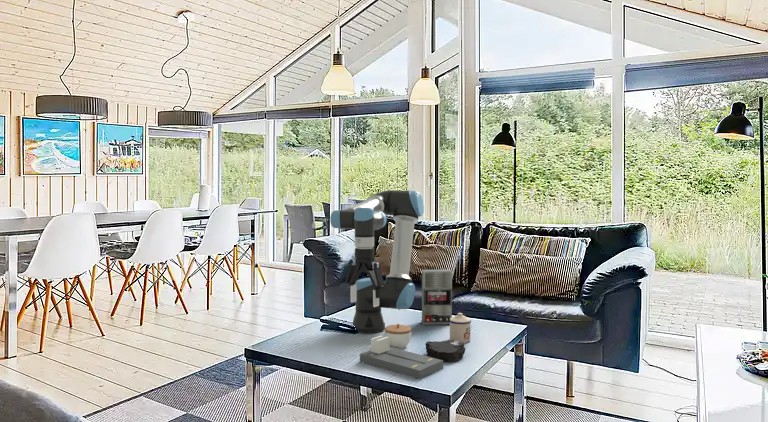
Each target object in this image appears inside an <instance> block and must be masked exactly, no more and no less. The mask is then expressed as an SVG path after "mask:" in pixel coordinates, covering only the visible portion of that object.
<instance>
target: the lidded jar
mask: <svg viewBox="0 0 768 422" xmlns="http://www.w3.org/2000/svg"><path fill="white" fill-rule="evenodd" d="M384 332H385V333H384V336H386V337H389V347H392V348H396V349H400V350H403V349H406V347H407V346H408V344H409V343H410V342H411V338H412V327H411V326H409V325H405V324H400V323H397V324H391V325H387V326H385V330H384Z"/></svg>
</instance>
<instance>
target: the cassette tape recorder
mask: <svg viewBox="0 0 768 422" xmlns="http://www.w3.org/2000/svg"><path fill="white" fill-rule="evenodd" d="M452 317H453V270H451V269H422V270H421V324H422V325H423V326H426V325H429V326H431V325H432V326H433V325H450V321H449V320H450V318H452Z"/></svg>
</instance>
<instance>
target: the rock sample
mask: <svg viewBox="0 0 768 422" xmlns="http://www.w3.org/2000/svg"><path fill="white" fill-rule="evenodd" d="M425 350H426V356H428V357H432V358H436V359H440V360H443V363H451V362H452V363H453V362H456V361H459V360H462V359H463V357H464V354H465V352H466V347H465V343H462V342H460V341H455V340H450V339H449V340H448V339H447V340H441V341H434V340H433V341H429V340H428V341H426V342H425Z"/></svg>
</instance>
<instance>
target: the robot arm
mask: <svg viewBox="0 0 768 422" xmlns="http://www.w3.org/2000/svg"><path fill="white" fill-rule="evenodd" d="M424 209H425V207H424V200H423V196H422V194H421V193H420V192H419V191H417V190H410V189H409V190H389V189H388V190H384V191H380V192H376V193H374V194H372V195H369V196H367V198H366V199H365V200H364V201H361V202H359V203H357V204H355V205H353V206H351V207H349V208H345V209H343V210H342V209H337V210H333V211H332V212H331V213H330V219H329V221H330V226H331V227H332V228H333V229H339V230H341V229H342V230H354V258H353V259H350V260H349V262H348V263H349V266H348V270H347V274H346V277H345V281H344V282H345V284H348V286H349V290H348V291H349V297H350V303H355V313H354V316H353V321H352V323H353V325H354V326H355V327H356V330H357V331H358V332H357V333H359V332H360V333H361V334H377V333H380V332H385V327H386V322H385V321H384V317H383V313H382V308H384V309H395V310H408V309H410V308H411V306H412V305H413V303H414V301H415V296H416V286H415V284H414V283H413V281H412V278H411V277H410V270H411V269H410V268H411V259H412V250H413V241H414V240H413V239H414V229H415V224H416V223H417V222H418V221H419V218H420V217H423V215H424V211H425V210H424ZM387 216H392V219H393V220H394V222H395V225H394V232H393V233H394V235H393V243H392V251H391V262H390V269H389V270H390V271H389V274H388V275H387V276H385V280H384V278H383V275H382V274H383V273H382V271H381V263H380V261H379V262H375V261H374V258H375V248H374V247H375V230H377V231H379V230H381V229H382V228H384V227H385V226H386V224H387V221H388V219H387ZM362 272H363V273H366V275H367V276H368V277H365V278H360V279H358V278H359V277H360V275H361V273H362Z"/></svg>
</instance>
